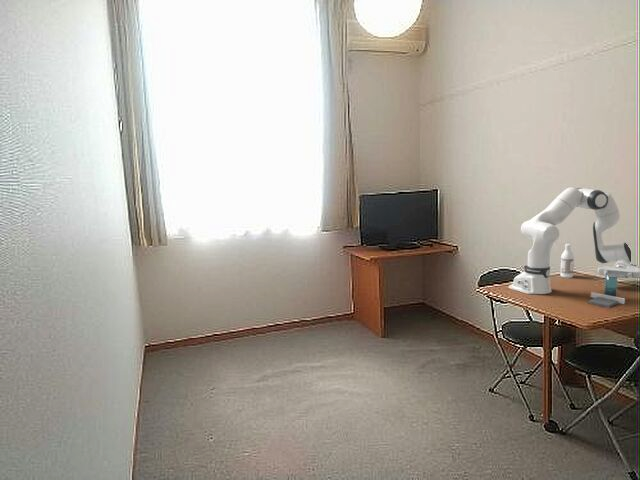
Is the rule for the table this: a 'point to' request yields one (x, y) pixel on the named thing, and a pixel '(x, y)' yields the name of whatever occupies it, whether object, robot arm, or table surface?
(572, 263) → the bath foam
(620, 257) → the robot arm
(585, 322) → the table surface
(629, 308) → the table surface
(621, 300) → the wall
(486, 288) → the table surface
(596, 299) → the coaster
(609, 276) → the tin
